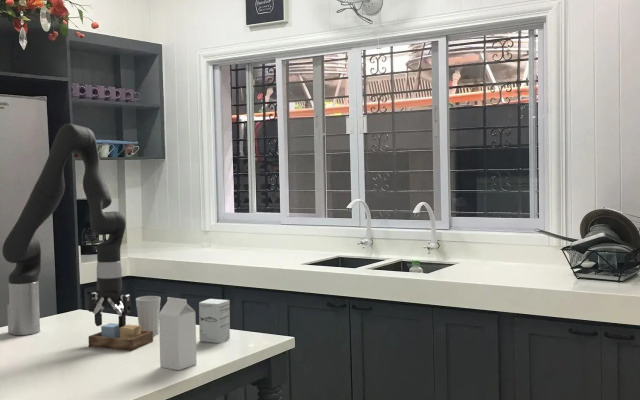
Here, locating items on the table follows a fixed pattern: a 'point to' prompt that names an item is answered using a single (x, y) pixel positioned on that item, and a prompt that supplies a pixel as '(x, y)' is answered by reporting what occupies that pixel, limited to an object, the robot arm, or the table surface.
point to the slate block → (110, 330)
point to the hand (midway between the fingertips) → (110, 326)
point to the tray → (120, 341)
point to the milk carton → (177, 334)
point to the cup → (148, 313)
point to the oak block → (130, 331)
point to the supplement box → (214, 320)
